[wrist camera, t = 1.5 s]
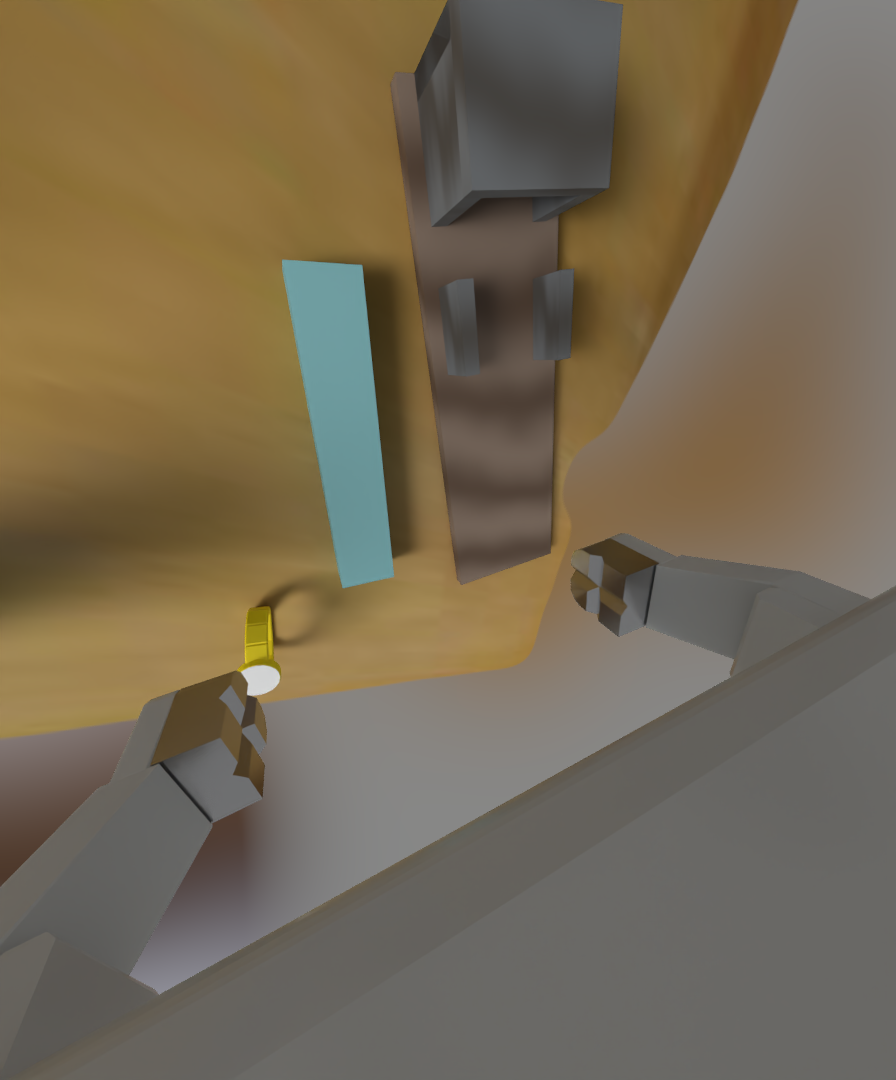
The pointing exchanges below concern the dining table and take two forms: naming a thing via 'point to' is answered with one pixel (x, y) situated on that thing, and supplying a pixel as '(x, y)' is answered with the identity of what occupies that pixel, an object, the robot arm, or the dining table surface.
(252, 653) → the watch
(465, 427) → the end-cap base
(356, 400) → the slat
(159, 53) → the dining table surface
